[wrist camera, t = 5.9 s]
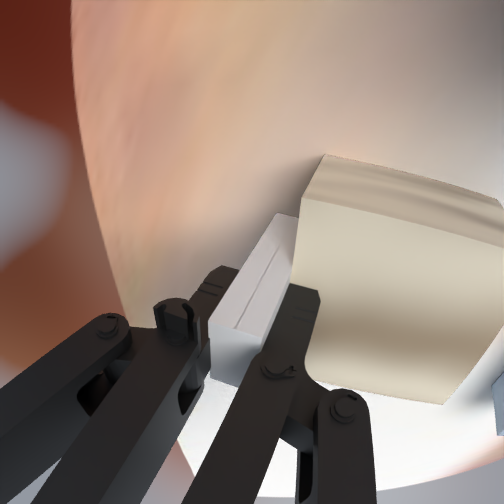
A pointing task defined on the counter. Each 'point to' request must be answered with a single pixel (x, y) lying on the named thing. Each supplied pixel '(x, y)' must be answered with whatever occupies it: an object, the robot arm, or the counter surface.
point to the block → (398, 279)
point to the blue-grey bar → (499, 404)
